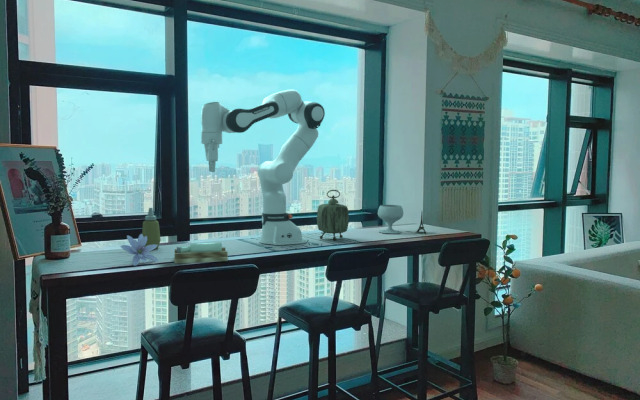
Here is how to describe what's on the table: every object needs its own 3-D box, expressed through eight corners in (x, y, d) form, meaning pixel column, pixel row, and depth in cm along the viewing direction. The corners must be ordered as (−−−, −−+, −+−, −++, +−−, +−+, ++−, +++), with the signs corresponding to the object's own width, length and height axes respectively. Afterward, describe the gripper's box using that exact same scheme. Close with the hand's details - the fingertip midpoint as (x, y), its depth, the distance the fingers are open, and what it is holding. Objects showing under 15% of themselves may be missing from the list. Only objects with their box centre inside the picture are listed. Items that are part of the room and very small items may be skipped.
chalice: (388, 230, 278) (388, 203, 277) (408, 232, 268) (408, 205, 267) (372, 232, 269) (372, 205, 268) (391, 235, 259) (392, 207, 257)
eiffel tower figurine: (404, 232, 274) (404, 208, 273) (416, 231, 280) (417, 207, 279) (424, 235, 262) (425, 211, 261) (437, 234, 268) (437, 210, 267)
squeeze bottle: (154, 250, 210) (154, 209, 208) (137, 249, 211) (136, 208, 210) (164, 247, 218) (163, 207, 216) (147, 246, 219) (147, 206, 218)
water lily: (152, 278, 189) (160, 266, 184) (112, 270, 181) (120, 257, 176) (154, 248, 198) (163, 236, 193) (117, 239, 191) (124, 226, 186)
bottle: (220, 252, 198) (220, 240, 197) (221, 256, 193) (221, 244, 192) (176, 254, 193) (176, 242, 192) (176, 258, 188) (176, 245, 187)
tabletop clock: (343, 237, 250) (344, 189, 248) (349, 240, 241) (350, 190, 239) (316, 238, 245) (317, 189, 243) (322, 241, 237) (322, 190, 235)
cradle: (224, 255, 202) (224, 246, 202) (227, 260, 190) (227, 252, 190) (174, 257, 196) (174, 248, 196) (174, 263, 185) (174, 254, 184)
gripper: (221, 139, 201) (221, 172, 202) (217, 140, 220) (217, 171, 222) (205, 138, 199) (205, 172, 200) (203, 140, 219) (203, 171, 220)
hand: (212, 171), depth 211 cm, fingers open, 8 cm apart
